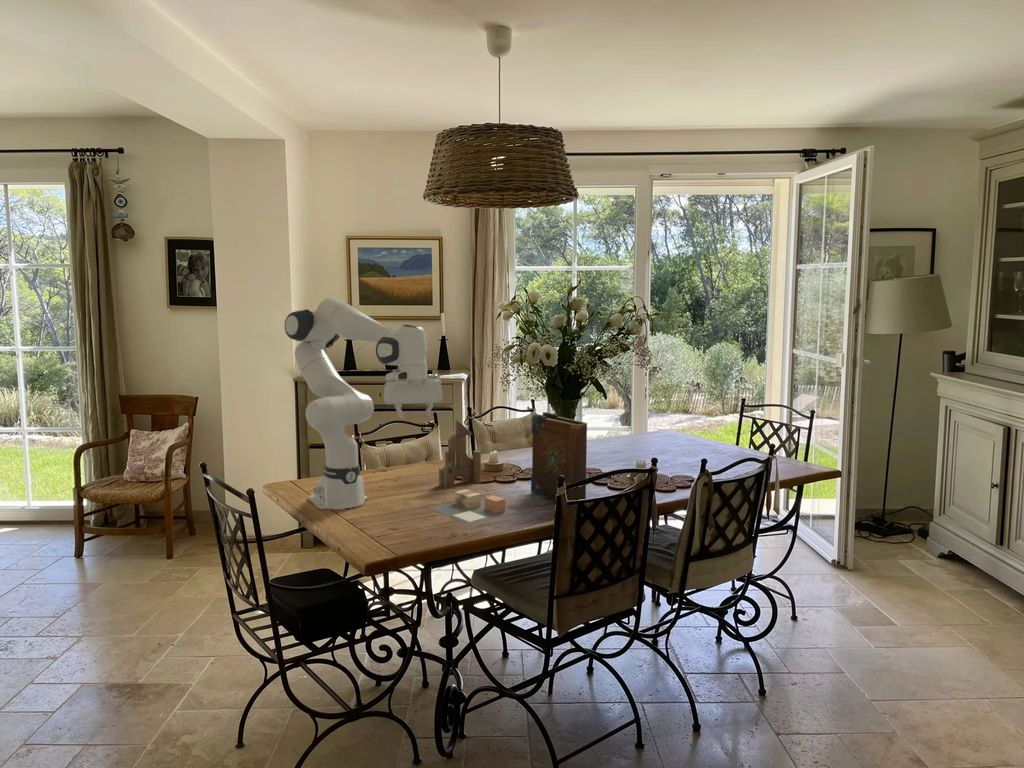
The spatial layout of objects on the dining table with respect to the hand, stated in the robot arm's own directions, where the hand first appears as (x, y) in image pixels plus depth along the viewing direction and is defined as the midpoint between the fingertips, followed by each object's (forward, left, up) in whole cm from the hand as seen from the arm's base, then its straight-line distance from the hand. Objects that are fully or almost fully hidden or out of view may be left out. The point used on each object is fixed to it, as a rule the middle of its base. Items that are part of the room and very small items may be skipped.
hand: (414, 417), depth 241 cm
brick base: (0, +21, -33) cm, 40 cm away
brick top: (+11, +24, -33) cm, 43 cm away
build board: (+6, +18, -35) cm, 40 cm away
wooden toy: (-26, +38, -35) cm, 58 cm away
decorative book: (+13, +53, -35) cm, 65 cm away
